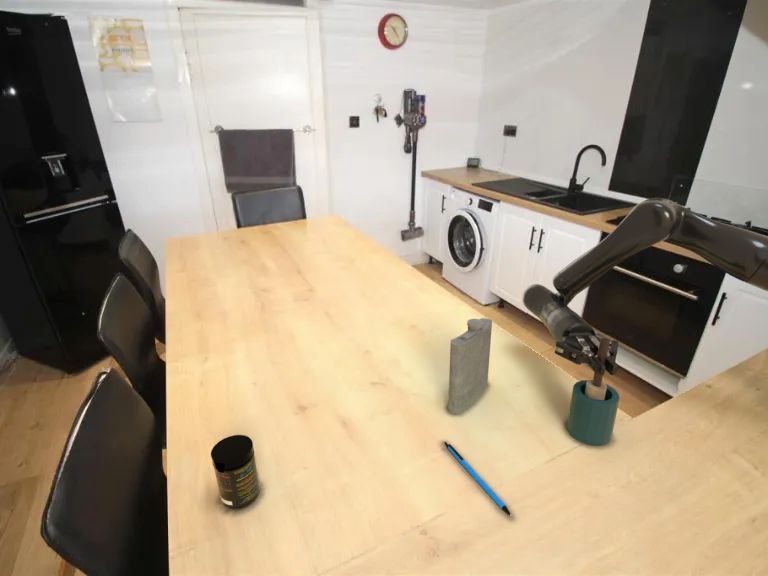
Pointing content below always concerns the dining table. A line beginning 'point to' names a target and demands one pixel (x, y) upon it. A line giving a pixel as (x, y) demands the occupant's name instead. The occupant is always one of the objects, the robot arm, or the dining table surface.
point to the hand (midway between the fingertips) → (608, 371)
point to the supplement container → (236, 471)
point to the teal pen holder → (592, 415)
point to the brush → (596, 386)
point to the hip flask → (469, 365)
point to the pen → (478, 479)
